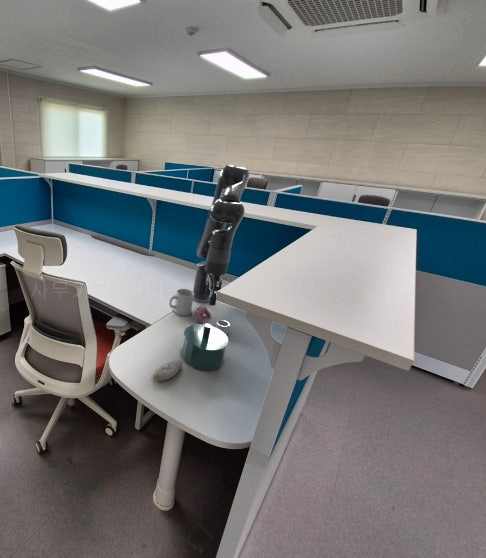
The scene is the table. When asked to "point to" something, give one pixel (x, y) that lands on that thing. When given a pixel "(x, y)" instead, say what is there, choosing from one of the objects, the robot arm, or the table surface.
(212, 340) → the lid
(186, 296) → the mug
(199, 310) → the video game controller
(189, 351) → the pot
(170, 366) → the decorative stone
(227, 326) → the steel cup
